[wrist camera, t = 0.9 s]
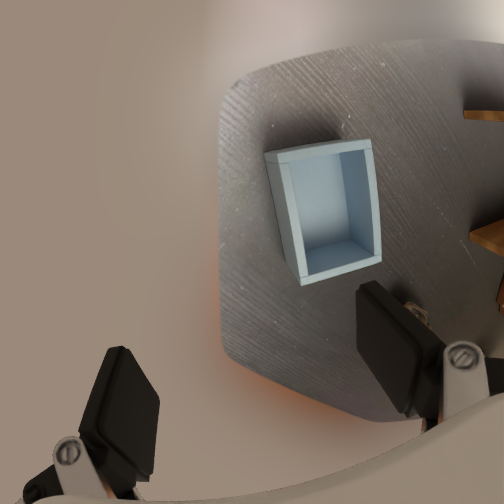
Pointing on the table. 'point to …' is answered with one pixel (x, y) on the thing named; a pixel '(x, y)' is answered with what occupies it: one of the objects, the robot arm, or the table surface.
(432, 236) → the table surface
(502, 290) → the plant
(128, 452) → the robot arm
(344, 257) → the basket
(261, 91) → the table surface
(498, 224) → the shelf
